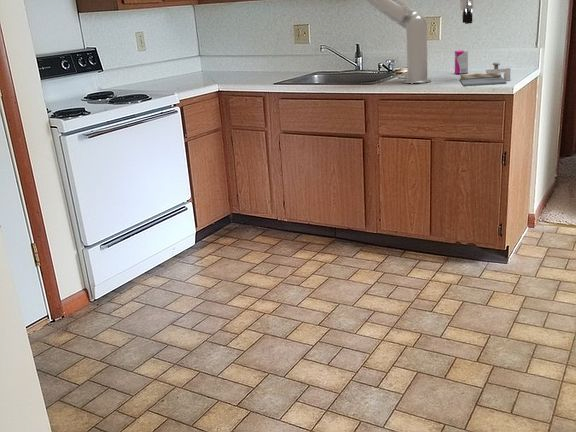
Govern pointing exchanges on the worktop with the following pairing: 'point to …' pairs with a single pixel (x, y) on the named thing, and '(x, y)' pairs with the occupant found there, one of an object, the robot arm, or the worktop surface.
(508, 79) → the keeper
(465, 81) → the base plate
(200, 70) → the worktop surface
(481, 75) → the link
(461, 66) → the supplement box
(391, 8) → the robot arm
